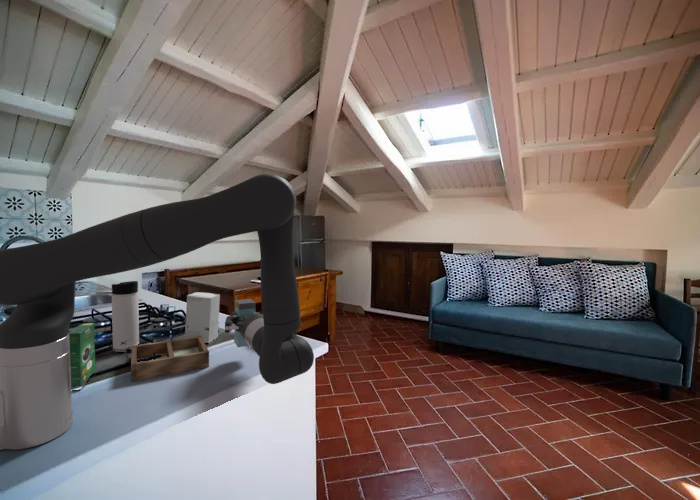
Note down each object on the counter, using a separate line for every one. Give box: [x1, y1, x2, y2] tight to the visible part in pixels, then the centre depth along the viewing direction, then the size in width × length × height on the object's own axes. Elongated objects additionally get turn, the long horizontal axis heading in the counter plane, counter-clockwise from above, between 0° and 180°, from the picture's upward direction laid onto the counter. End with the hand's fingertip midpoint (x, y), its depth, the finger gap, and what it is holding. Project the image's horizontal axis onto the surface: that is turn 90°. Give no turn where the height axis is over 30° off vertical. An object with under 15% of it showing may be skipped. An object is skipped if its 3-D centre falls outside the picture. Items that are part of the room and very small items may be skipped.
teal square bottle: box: [233, 298, 256, 348], centre depth 90 cm, size 4×4×12 cm
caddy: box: [130, 336, 210, 382], centre depth 86 cm, size 17×13×4 cm
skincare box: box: [184, 291, 221, 344], centre depth 103 cm, size 8×6×15 cm
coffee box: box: [69, 322, 96, 387], centre depth 74 cm, size 8×3×13 cm, turn 19°
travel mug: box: [111, 280, 140, 353], centre depth 93 cm, size 6×7×20 cm
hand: (242, 314), depth 92 cm, fingers closed on teal square bottle, 4 cm apart
